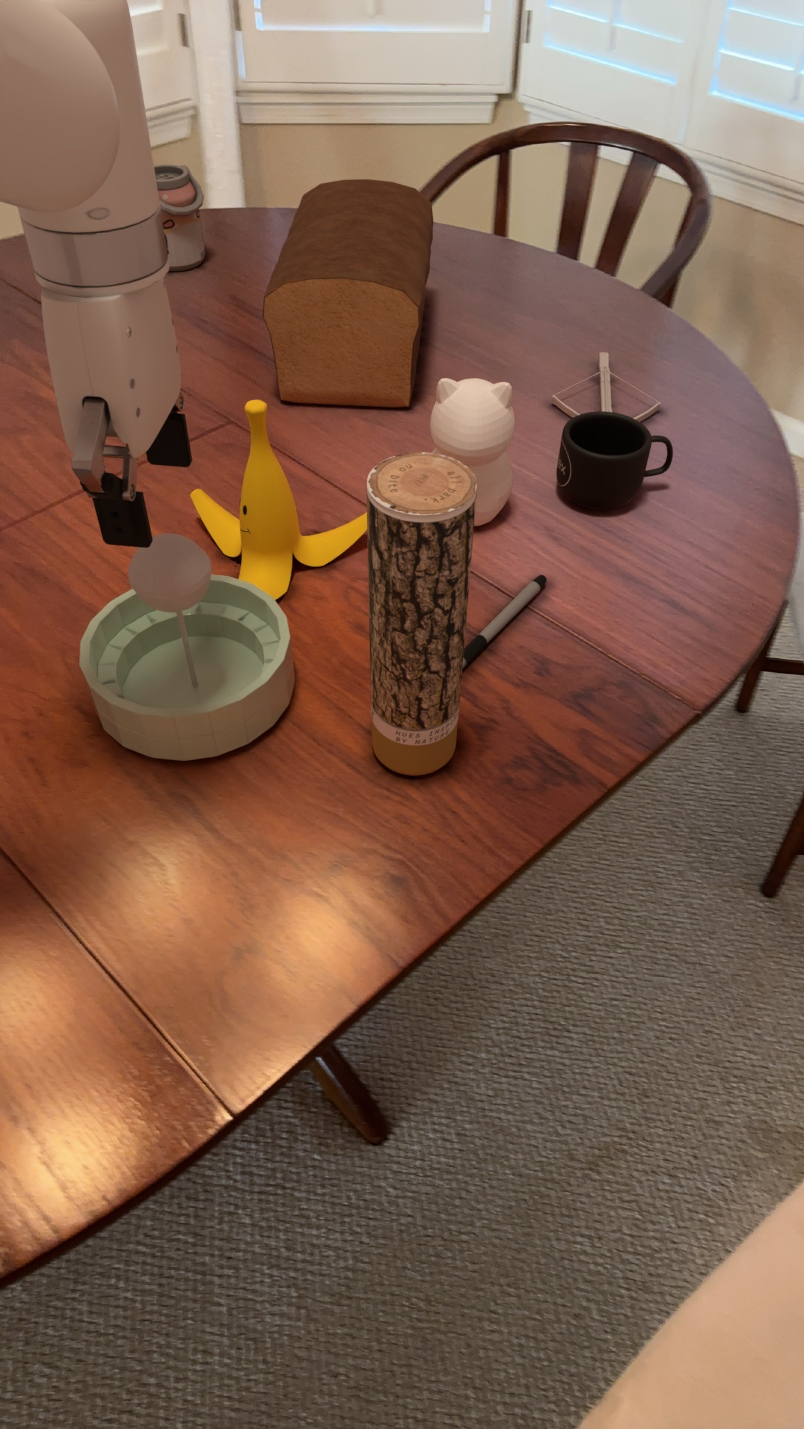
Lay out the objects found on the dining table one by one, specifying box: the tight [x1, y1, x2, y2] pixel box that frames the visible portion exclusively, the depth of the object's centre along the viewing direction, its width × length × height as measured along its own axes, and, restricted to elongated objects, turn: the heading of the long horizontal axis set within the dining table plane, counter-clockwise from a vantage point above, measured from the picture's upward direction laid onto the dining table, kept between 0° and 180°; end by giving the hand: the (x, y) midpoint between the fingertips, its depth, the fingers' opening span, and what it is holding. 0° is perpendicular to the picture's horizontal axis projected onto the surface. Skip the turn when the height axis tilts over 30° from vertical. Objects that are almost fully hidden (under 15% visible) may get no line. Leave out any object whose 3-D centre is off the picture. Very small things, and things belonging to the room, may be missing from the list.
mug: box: [555, 410, 674, 510], centre depth 98 cm, size 12×9×7 cm
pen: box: [462, 574, 548, 669], centre depth 85 cm, size 1×16×1 cm, turn 144°
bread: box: [262, 178, 434, 409], centre depth 115 cm, size 18×30×16 cm, turn 176°
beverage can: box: [154, 163, 206, 272], centre depth 134 cm, size 9×8×12 cm
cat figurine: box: [429, 377, 516, 527], centre depth 93 cm, size 9×12×15 cm
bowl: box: [78, 573, 296, 762], centre depth 78 cm, size 17×17×6 cm
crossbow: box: [551, 351, 661, 423], centre depth 113 cm, size 16×13×2 cm
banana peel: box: [189, 399, 367, 601], centre depth 86 cm, size 17×19×17 cm
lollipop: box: [127, 532, 213, 687], centre depth 74 cm, size 6×6×15 cm
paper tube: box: [366, 451, 477, 776], centre depth 67 cm, size 7×7×25 cm
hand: (150, 501), depth 66 cm, fingers open, 9 cm apart
